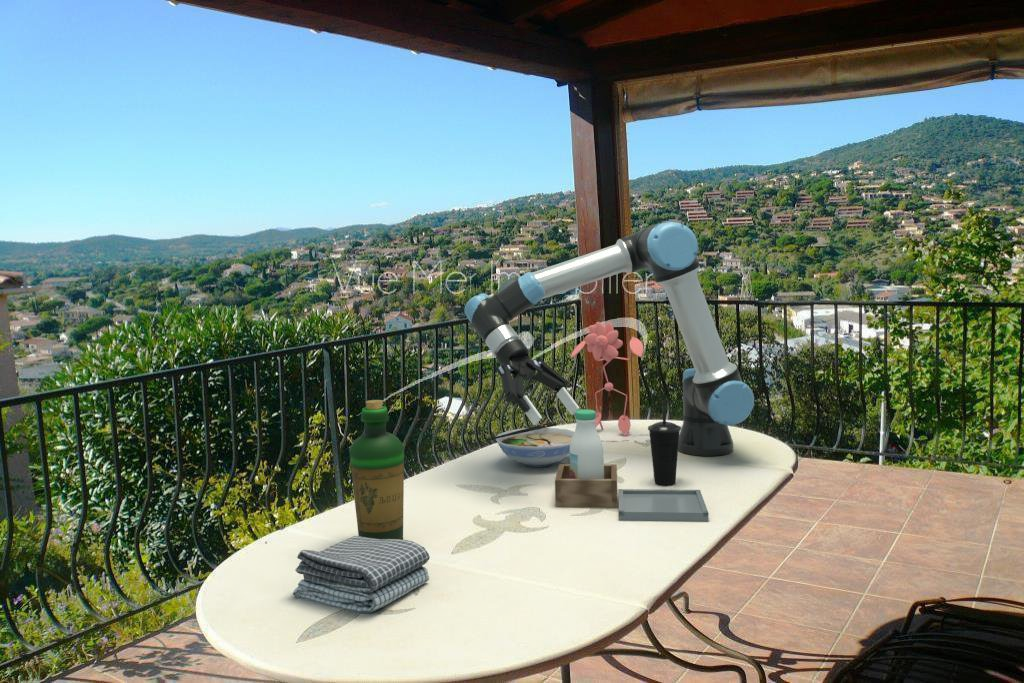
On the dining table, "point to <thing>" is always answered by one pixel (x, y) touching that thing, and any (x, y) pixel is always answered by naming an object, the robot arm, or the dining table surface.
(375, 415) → the bottle
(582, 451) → the milk bottle
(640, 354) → the figurine
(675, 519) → the tray
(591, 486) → the holder
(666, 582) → the dining table surface
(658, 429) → the drinking cup
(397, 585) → the towel
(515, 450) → the ramen bowl
